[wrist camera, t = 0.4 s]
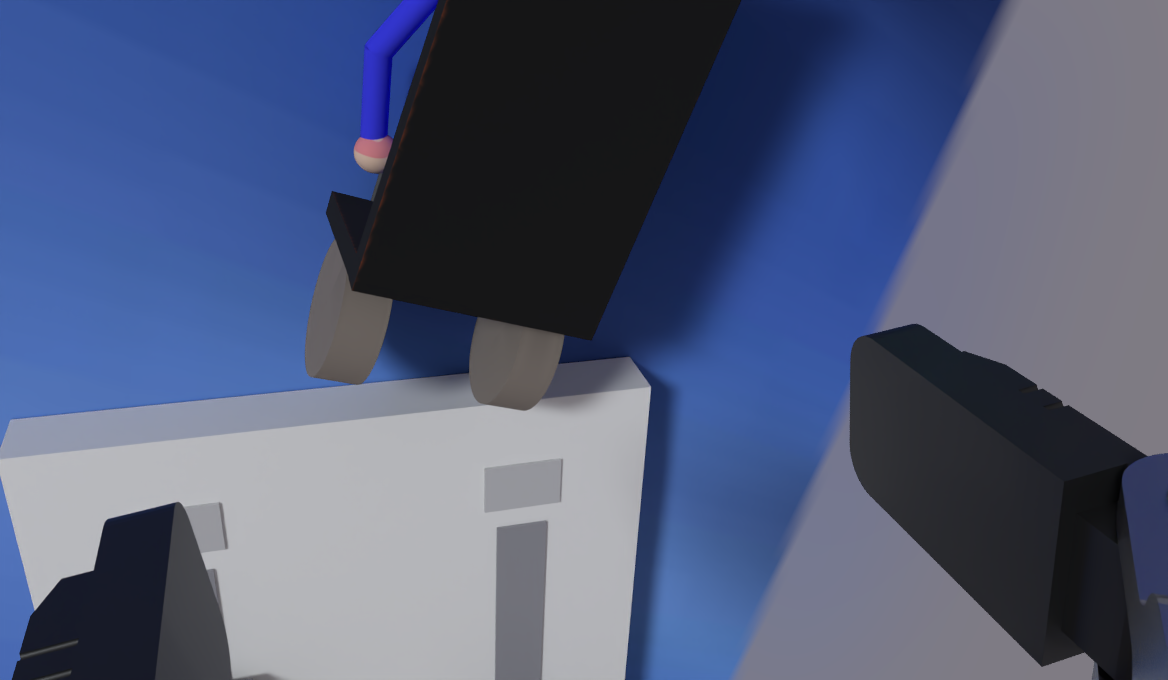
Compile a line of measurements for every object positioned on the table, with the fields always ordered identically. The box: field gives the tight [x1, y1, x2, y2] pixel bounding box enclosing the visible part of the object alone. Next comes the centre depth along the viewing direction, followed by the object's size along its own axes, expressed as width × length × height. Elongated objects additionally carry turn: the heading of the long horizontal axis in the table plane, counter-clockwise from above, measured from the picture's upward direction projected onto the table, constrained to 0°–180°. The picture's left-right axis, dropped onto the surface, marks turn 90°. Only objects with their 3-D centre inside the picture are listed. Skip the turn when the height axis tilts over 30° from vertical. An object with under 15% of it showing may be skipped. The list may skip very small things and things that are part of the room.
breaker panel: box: [0, 357, 651, 680], centre depth 34 cm, size 21×18×2 cm
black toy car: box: [305, 0, 741, 411], centre depth 25 cm, size 7×8×15 cm
